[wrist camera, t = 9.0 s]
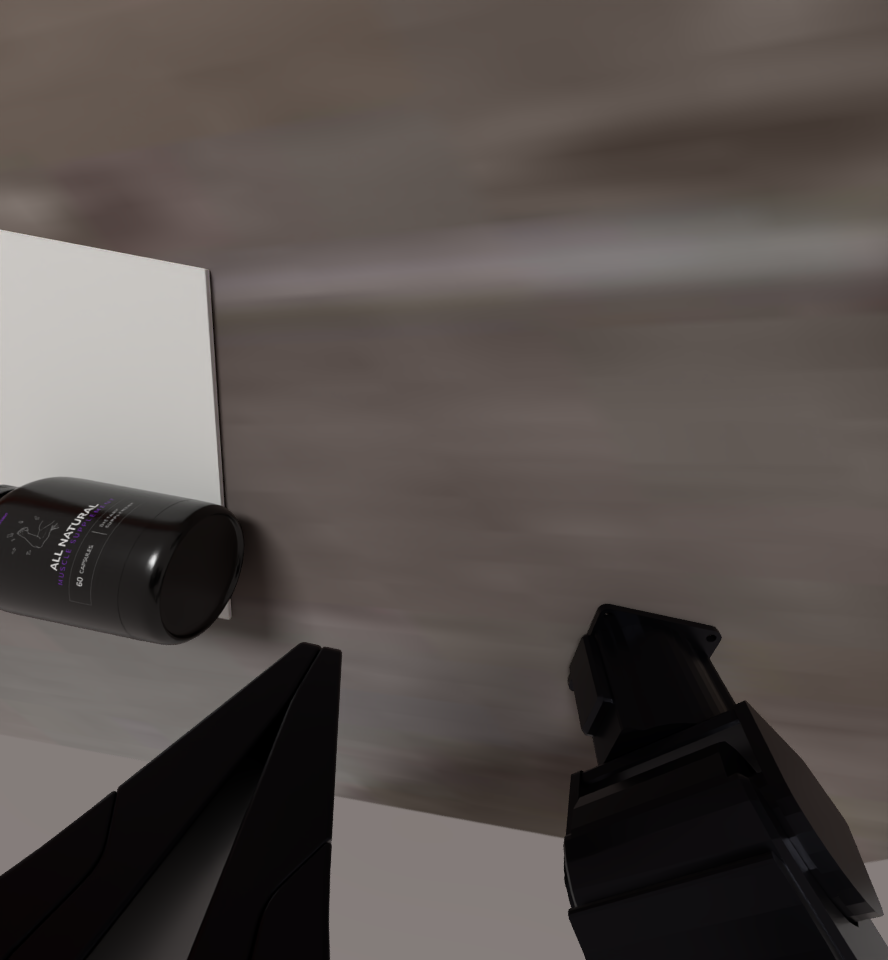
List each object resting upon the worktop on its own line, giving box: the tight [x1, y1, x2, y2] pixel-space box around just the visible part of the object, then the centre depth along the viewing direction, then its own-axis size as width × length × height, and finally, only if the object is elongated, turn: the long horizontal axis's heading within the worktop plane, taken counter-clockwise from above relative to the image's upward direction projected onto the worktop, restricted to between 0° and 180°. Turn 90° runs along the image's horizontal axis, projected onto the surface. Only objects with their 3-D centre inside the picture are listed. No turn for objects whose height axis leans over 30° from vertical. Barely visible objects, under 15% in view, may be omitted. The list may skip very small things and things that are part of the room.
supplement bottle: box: [0, 477, 244, 645], centre depth 20 cm, size 7×7×12 cm
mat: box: [0, 230, 232, 620], centre depth 22 cm, size 14×20×1 cm
